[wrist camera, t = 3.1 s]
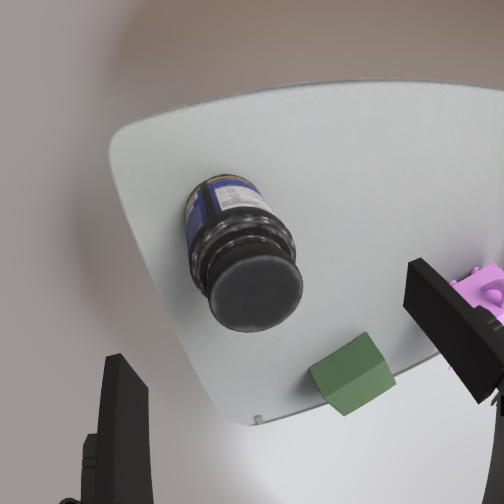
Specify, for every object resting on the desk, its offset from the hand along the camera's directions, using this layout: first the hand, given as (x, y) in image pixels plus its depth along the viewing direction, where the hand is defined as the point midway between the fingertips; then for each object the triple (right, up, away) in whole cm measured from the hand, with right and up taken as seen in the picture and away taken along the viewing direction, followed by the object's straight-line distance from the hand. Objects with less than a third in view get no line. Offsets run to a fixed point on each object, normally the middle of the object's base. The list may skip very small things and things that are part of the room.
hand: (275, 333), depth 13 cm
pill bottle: (-3, +7, +11) cm, 14 cm away
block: (+12, -12, +26) cm, 31 cm away
